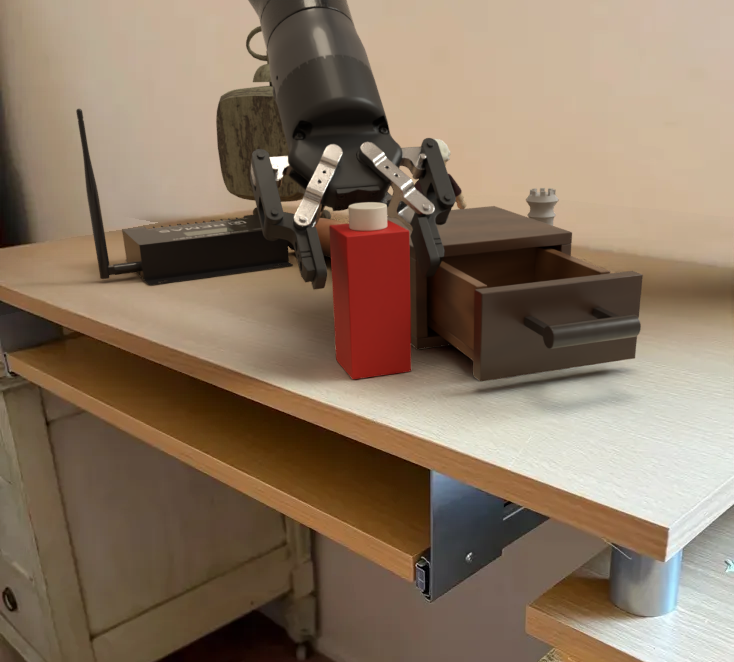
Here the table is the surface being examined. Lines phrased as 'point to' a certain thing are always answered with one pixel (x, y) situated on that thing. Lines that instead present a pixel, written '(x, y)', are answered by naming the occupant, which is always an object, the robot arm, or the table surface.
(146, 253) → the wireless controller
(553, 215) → the rook chess piece
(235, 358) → the table surface
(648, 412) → the table surface
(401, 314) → the ketchup bottle
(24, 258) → the table surface
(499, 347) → the drawer
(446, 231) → the cabinet
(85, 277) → the table surface
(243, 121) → the tabletop clock
